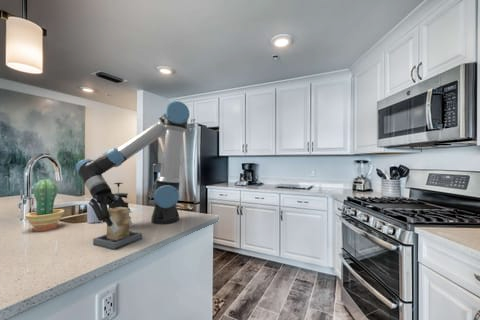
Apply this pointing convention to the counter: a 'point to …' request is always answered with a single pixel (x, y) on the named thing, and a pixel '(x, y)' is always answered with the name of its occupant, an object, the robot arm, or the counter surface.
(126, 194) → the french press
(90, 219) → the soap bottle
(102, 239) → the slate tray
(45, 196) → the potted cactus
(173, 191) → the robot arm
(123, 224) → the oak block
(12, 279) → the counter surface
